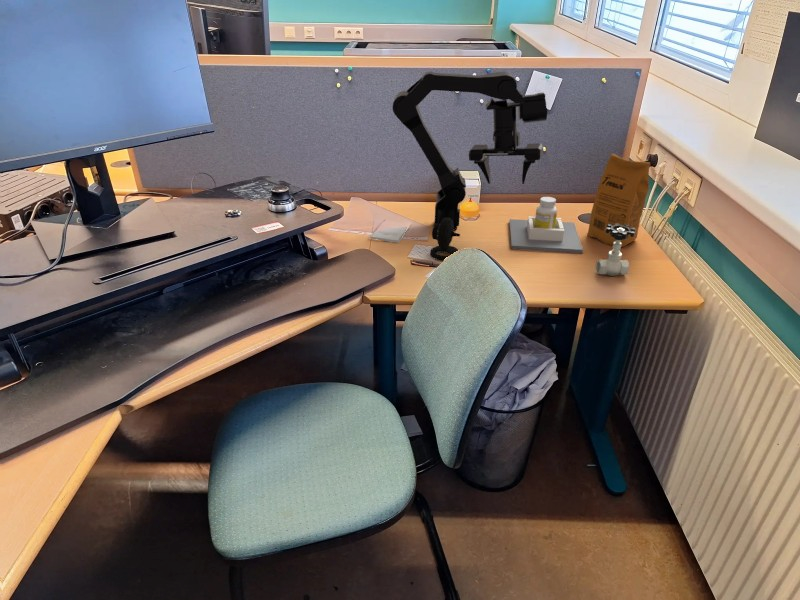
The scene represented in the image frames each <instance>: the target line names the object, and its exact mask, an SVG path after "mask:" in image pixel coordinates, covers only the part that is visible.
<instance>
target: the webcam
mask: <svg viewBox="0 0 800 600" xmlns="http://www.w3.org/2000/svg"><path fill="white" fill-rule="evenodd" d="M434 223H435V222H434ZM460 236H461V233H458V232H455V230H454V226H453V221H452V219H451V218H444V219H443V220H442V221H441V223H440V224H437V223H435V224H434V225H433V226H432V230H431V238H432V240H435V241H437V244H438V245H436V246H434V247H432V248H430V250H429V255H430V256H431V258H432V257H433V258H432V259H434V258H435V259H434V260H436V259H437V260H436V261H439V260H440V262H444V261H443V260H444V259H445V258H446V257H448V256H449V255H451V254H453V253H454V252H456V251H458V250H459V249H458V248H456V247H455V246H454V245H451V242H452V240H453V237H458V238H459V237H460ZM438 253H445V254H447V255H445V254H443V255H442V254H438Z"/></svg>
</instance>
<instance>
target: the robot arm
mask: <svg viewBox="0 0 800 600" xmlns="http://www.w3.org/2000/svg"><path fill="white" fill-rule="evenodd" d="M432 91H441V92H457V93H459V92H460V93H475V94H476V93H477V94H482V95H484V96H487V97H490V99H489V101H488V102H487V103H486V104H485V109H486V110H487V111H490V110H492V112H493V113H492V114H493V118H492V119H493V132H492V141H493V143H494V144H493V145H494V148H491V147H490V148H489V147H488V144H474V145H473V146H472V148H470V150H469V151H468V160H469V161H473V164H475V165H476V164H477V166H478V167H479V168H480V170H481V172H482V174H483V175H484V178H485V180H486V182H487V183H488V185H490V184H491V183H492V177H491V169H490V157H492V156H493V157H504V156H508V157H509V156H511V157H512V156H524V160H523V164H522V174H521V176H522V177H521V183H522V185H525V182H526V179H527V176H528V173H529V170H530V167H531V165H532V164H536V162H537V161H540V160H541V158H542V157H543V154H544V146H543V144H542V143H527V145H526V146H525V147H519V146H520V140H521V139H520V136H521V133H520V132H519V131H518V128H517V118H518V120H519V121H520V120H522V123H523V124H529V123H538V122H546V121H547V118H548V107H547V101H546V94H545V92H538V93H535V94H525V95H524V94H523V93H522V92H521V90H518V83H517V81H516V79H515V78H514V77H513V75H512V74H511V73H510V72H507V71H498V72H490V73H485V74H480V75H478V74H477V75H475V74H460V73H459V74H457V73H446V72H445V73H443V72H441V73H440V72H433V71H427V72H424V73H423V75H422V77H420V78H419V79H418V80H416V82H415V83H413V84H412V85H411V86H410V87H409V88H408V89H406V90H403V91H402V90H401V91H399V92H398V93H397V94H396V95H395V97H394V100H393V102H392V112H393V115H395V117H396V118H397V119H398V120H399V121H400V122H401V124H402V125H403V126H404V127H406V128H407V130H409V131H410V133H412V136H413V138H414V139H415V140H416V142H417V144H418V146H419V147H420V148H421V150H422V152H423V154H424V155H425V157H426V159H427V161H428V162H429V165H430V166H431V167H432V169H433V171H434V172H435V174H436V176H437V178H438V181H439V185H440V189H439V190H438V191H437V192H436V202H435V204H434V205H435V206H434V224H435V223H437V224H440V223H441V221H442V220H443V219H444V218H451V219H452V221H453V226H454V231H457V229H458V227H459V226H460V220H461V219H460V218H461V217H460V216H461V213H460V212H461V209H460V208H459V204H460V203H461V202H463V201H464V200H465V198H466V195H467V194H466V193H467V192H466V187H467V183H466V178H464V177H463V175H462V173H461V172H460V169H459V167H457V168H456V169H454V168H452V167H451V166H450V165H449V164H448V162H447V160H446V158H445V156H444V155H443V153H442V151H441V150H440V147H438V144H437V142H436V140H435V139H434V138H433V136H432V134H431V132H430V131H429V129H428V127H427V125H426V124H425V122H424V119H423V117H422V113H421V110H420V108H419V104H420V103H421V102H423V100H424V99H426V97H427V96H428V95H429V94H430V93H431V92H432ZM495 99H496V100H495ZM508 100H510V101H511V102H508Z"/></svg>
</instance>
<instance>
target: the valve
mask: <svg viewBox="0 0 800 600" xmlns="http://www.w3.org/2000/svg"><path fill="white" fill-rule="evenodd" d="M616 228H617V230H614V229H616ZM624 230H627V232H624ZM635 230H636V229H635V228H629V225H627V224H625V225H624V226H622V225H620V224H619V223H615V224H614V226H613V225H611V224H608V225H607V228H606V231H605V232H606V233H609V231H610V235H611V237H614V239H615V240H616V241H615V242H614V243H613V245H612V250H609V251H608V254H607V257H608V259H598V260H597V261H596V264H595V273H596V274H597V275H607V276H609V277H616V276H618V275H628V273H629V271H630V263H629V260H628V259H622V256H623V253H622V252H621V249H622V247H621V245H622V243H621V242H620V241H621V240H624V239H627V238H628V235H629V234H630V237H634V235H635Z"/></svg>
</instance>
